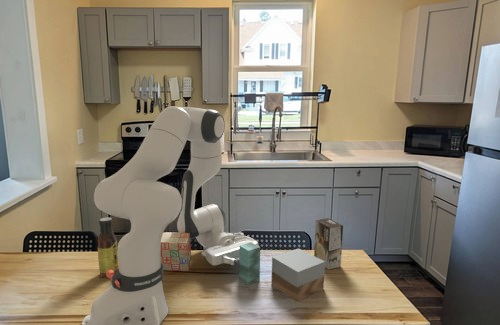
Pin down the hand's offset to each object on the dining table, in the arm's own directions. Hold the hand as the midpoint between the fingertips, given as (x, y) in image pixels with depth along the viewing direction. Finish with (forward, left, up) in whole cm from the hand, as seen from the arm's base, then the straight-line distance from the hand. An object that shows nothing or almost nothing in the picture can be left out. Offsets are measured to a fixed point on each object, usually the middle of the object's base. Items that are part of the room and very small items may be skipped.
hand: (245, 258), depth 115 cm
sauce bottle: (-37, +30, -7) cm, 48 cm away
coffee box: (+31, -10, -7) cm, 33 cm away
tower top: (+10, -15, -2) cm, 18 cm away
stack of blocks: (-20, +24, -6) cm, 32 cm away
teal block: (0, -2, -7) cm, 7 cm away
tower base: (+10, -15, -7) cm, 19 cm away
